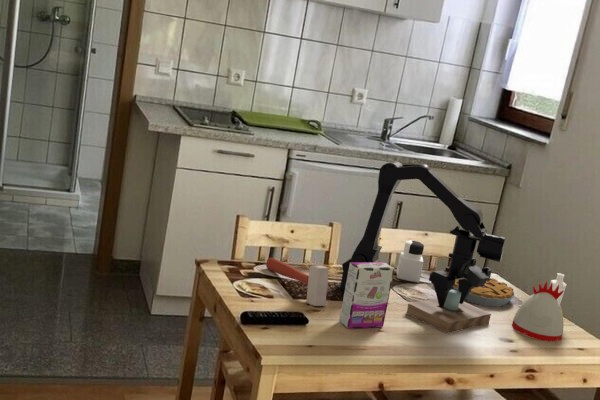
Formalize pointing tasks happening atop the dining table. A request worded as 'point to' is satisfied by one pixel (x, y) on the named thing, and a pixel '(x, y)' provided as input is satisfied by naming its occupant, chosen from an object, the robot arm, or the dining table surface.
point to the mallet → (305, 279)
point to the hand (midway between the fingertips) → (450, 305)
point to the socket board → (448, 315)
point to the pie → (489, 293)
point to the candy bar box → (366, 294)
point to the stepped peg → (452, 301)
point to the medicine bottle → (411, 261)
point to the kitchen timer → (541, 315)
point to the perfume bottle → (561, 285)
